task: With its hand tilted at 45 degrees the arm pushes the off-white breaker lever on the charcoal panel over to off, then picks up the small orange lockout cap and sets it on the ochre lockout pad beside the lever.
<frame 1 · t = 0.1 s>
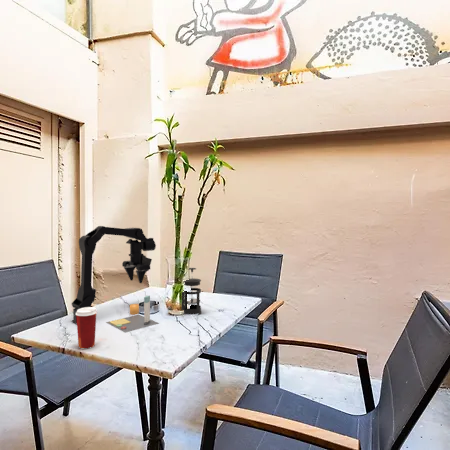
hand: (136, 281, 177), 15 cm above the table, tool pointing down, fingers open, 9 cm apart
paper cup: (86, 346, 129), on the table
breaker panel: (132, 324, 154), on the table
breaker lever: (147, 308, 153), point 7 cm above the table, hinge at 0.0°
french press: (191, 313, 172), on the table
lockout cap: (134, 314, 169), on the table
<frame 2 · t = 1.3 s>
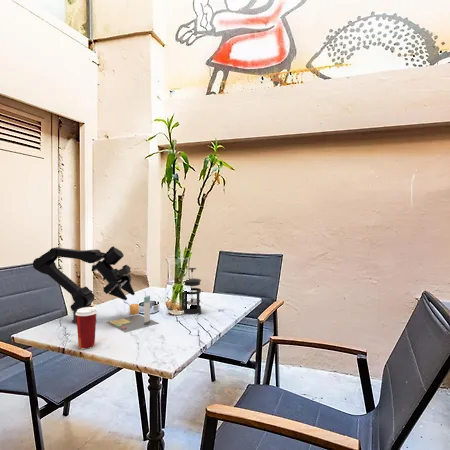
hand: (130, 297, 155), 12 cm above the table, tool tilted 45°, fingers open, 9 cm apart
nothing on the table moved.
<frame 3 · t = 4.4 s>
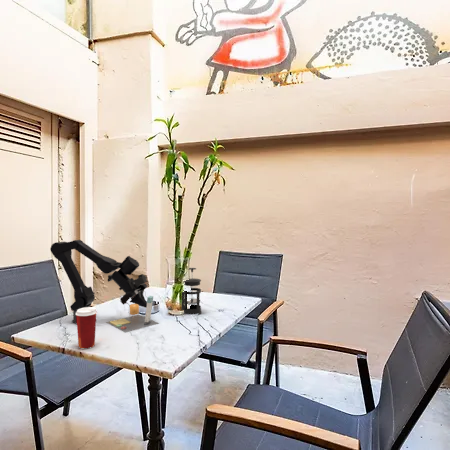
hand: (147, 306, 153), 8 cm above the table, tool tilted 45°, fingers closed, pressing on breaker lever
breaker lever: (148, 308, 153), point 7 cm above the table, hinge at 7.5°, touching gripper
everything else where it was.
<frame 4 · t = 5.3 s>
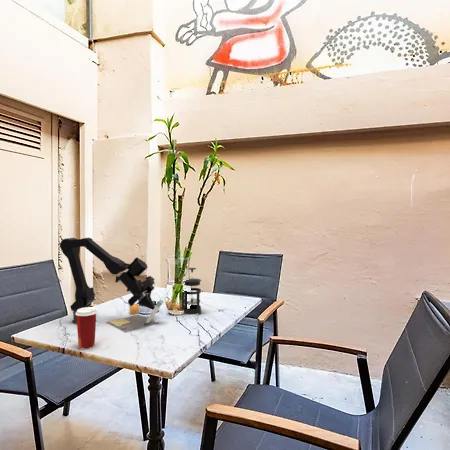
hand: (154, 308, 153), 7 cm above the table, tool tilted 45°, fingers closed, pressing on breaker lever
breaker lever: (154, 311, 153), point 6 cm above the table, hinge at 32.6°, touching gripper
everything else where it was.
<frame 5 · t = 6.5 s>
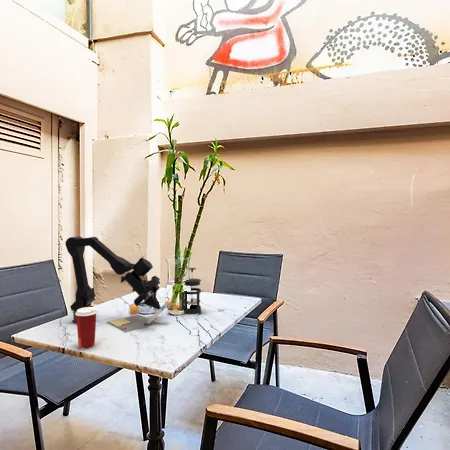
hand: (160, 308, 153), 8 cm above the table, tool tilted 45°, fingers closed, pressing on breaker lever
breaker lever: (157, 313, 153), point 5 cm above the table, hinge at 45.4°, touching gripper
everything else where it was.
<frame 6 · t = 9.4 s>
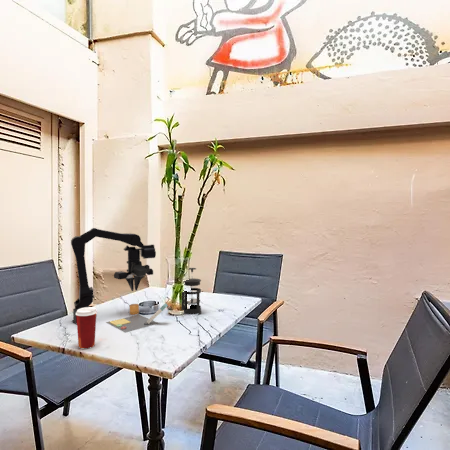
hand: (134, 290, 168), 12 cm above the table, tool pointing down, fingers closed
breaker lever: (157, 313, 153), point 5 cm above the table, hinge at 45.4°
everything else where it was.
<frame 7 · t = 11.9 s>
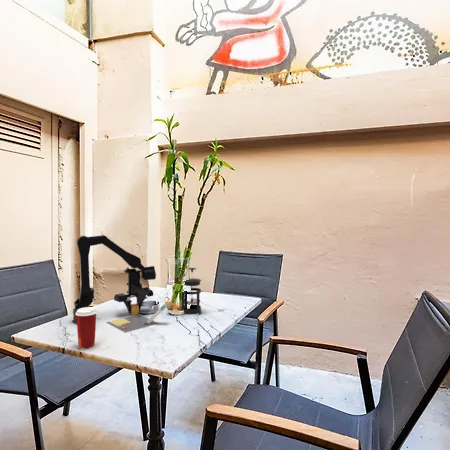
hand: (134, 312, 168), 1 cm above the table, tool pointing down, fingers closed on lockout cap, 4 cm apart
lockout cap: (134, 314, 169), on the table, touching gripper
everything else where it was.
when the fingers open (4 cm above the table, at t = 15.2 s): lockout cap drops 2 cm, resting on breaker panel.
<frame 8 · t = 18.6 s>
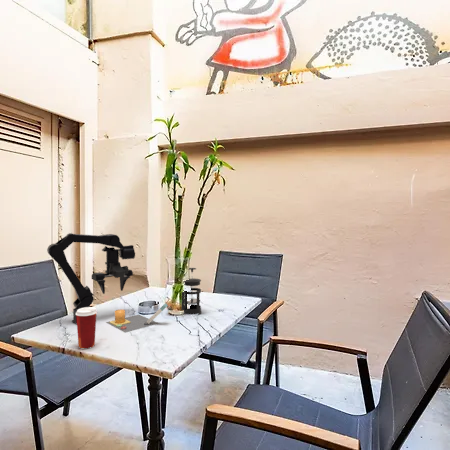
hand: (112, 292, 165), 12 cm above the table, tool pointing down, fingers open, 9 cm apart
lockout cap: (120, 321, 154), point 1 cm above the table, touching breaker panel
everything else where it was.
at the end: breaker lever at +45° (first picture: +0°); lockout cap 0.0 cm from the target spot on the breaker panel, point 1.2 cm above the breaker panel's base; lockout cap tilted 1° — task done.
